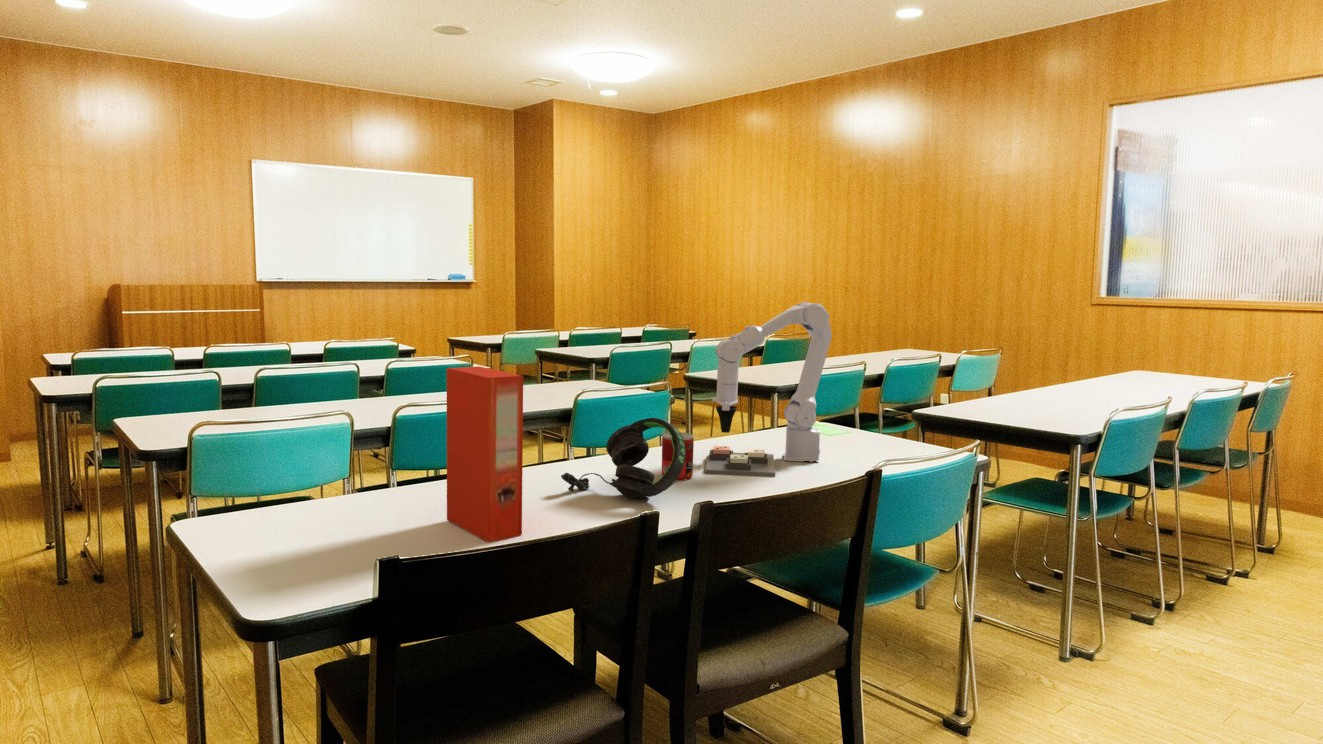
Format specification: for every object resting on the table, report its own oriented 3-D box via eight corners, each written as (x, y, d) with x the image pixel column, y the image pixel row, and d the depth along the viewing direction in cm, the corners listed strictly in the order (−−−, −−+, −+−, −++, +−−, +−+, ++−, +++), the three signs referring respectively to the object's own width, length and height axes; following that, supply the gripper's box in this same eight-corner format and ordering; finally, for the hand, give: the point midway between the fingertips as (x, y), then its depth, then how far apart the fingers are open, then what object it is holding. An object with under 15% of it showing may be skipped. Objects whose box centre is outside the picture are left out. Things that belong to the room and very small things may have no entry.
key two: (747, 459, 228) (747, 454, 228) (747, 463, 224) (747, 458, 223) (730, 458, 229) (730, 454, 228) (729, 462, 224) (730, 457, 224)
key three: (729, 450, 239) (730, 446, 238) (729, 454, 234) (729, 449, 234) (713, 450, 239) (713, 445, 239) (712, 453, 234) (712, 449, 234)
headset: (598, 525, 205) (699, 483, 193) (561, 513, 194) (665, 467, 182) (589, 458, 214) (685, 413, 202) (554, 443, 203) (652, 395, 191)
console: (773, 457, 242) (773, 449, 242) (775, 476, 221) (775, 467, 220) (709, 455, 244) (709, 446, 244) (705, 473, 222) (705, 464, 222)
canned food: (692, 481, 214) (694, 438, 213) (661, 480, 214) (661, 437, 213) (692, 473, 222) (693, 432, 220) (661, 473, 222) (662, 431, 221)
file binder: (482, 514, 183) (481, 365, 178) (523, 535, 169) (523, 375, 165) (446, 521, 177) (445, 368, 173) (486, 543, 164) (485, 378, 160)
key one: (764, 453, 236) (764, 449, 235) (764, 457, 231) (764, 452, 231) (747, 453, 236) (747, 448, 236) (747, 456, 232) (747, 452, 231)
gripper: (714, 379, 242) (712, 426, 244) (711, 386, 228) (709, 436, 230) (739, 380, 241) (737, 427, 243) (738, 387, 227) (736, 437, 229)
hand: (725, 432), depth 236 cm, fingers closed
